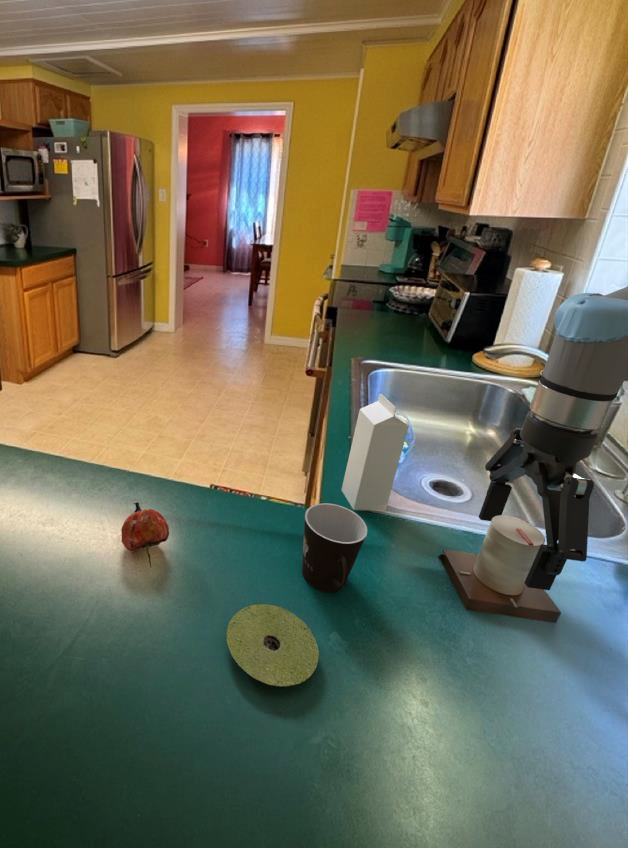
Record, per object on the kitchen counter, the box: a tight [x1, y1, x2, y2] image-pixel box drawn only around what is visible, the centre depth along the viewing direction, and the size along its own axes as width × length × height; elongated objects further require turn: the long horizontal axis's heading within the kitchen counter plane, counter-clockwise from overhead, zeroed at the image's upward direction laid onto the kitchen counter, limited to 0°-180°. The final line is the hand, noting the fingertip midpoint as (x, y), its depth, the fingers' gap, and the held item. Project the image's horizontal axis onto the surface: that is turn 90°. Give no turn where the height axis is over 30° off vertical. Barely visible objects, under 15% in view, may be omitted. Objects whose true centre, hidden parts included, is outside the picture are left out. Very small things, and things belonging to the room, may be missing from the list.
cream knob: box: [473, 514, 546, 595], centre depth 68 cm, size 6×6×9 cm
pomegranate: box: [120, 501, 170, 568], centre depth 73 cm, size 7×7×10 cm
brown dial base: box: [439, 548, 562, 624], centre depth 70 cm, size 12×11×2 cm
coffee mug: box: [301, 502, 368, 593], centre depth 68 cm, size 12×9×10 cm
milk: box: [341, 393, 410, 512], centre depth 83 cm, size 6×6×22 cm
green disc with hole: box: [226, 603, 320, 687], centre depth 58 cm, size 11×11×2 cm
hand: (510, 550), depth 68 cm, fingers open, 13 cm apart
